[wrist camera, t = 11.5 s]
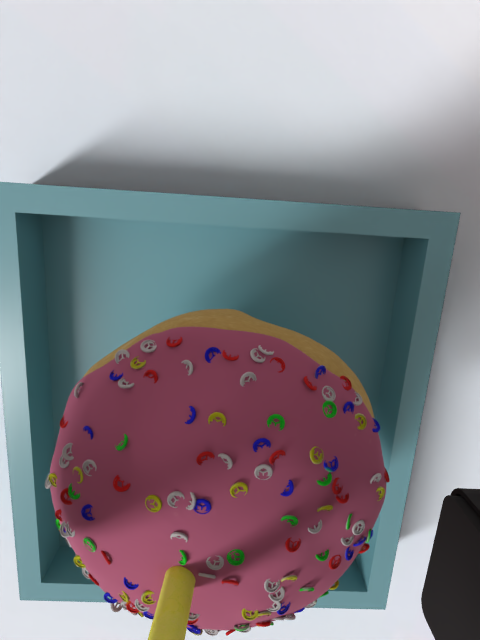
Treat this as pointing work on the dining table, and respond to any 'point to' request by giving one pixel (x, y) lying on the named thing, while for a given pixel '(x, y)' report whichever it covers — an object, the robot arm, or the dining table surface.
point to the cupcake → (217, 473)
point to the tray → (201, 294)
